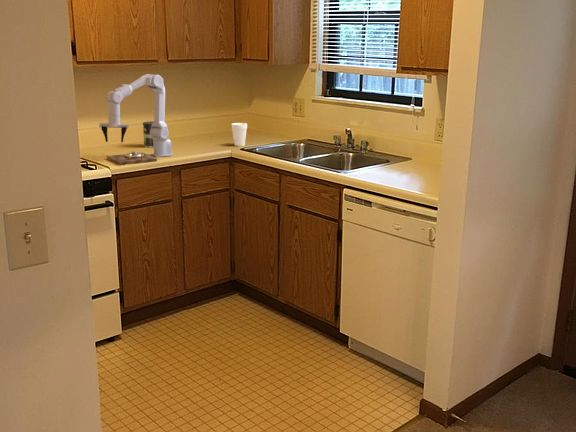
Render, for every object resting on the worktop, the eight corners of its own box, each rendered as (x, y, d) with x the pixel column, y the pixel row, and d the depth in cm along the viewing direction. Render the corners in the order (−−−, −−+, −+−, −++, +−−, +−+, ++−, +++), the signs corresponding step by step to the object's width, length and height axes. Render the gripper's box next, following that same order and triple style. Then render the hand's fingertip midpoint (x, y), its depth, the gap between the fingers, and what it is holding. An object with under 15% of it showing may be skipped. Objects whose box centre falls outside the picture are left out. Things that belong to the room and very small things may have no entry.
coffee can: (145, 148, 363) (144, 124, 359) (142, 145, 372) (141, 121, 368) (162, 147, 366) (161, 123, 362) (160, 144, 375) (158, 121, 371)
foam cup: (229, 146, 372) (229, 124, 368) (234, 143, 381) (234, 122, 377) (244, 147, 370) (244, 125, 366) (249, 144, 378) (249, 123, 375)
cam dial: (128, 154, 335) (128, 149, 334) (146, 154, 334) (146, 149, 333) (119, 159, 321) (118, 154, 320) (138, 159, 320) (137, 154, 319)
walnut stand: (142, 155, 341) (142, 147, 340) (156, 161, 326) (156, 152, 324) (107, 158, 331) (106, 150, 329) (120, 165, 315) (119, 156, 313)
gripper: (98, 115, 309) (98, 142, 313) (128, 116, 312) (128, 143, 315) (100, 114, 316) (100, 140, 319) (129, 115, 319) (129, 141, 322)
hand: (114, 141), depth 318 cm, fingers open, 7 cm apart
